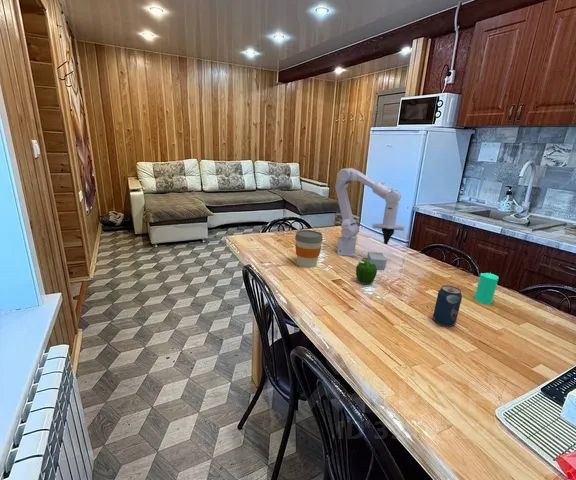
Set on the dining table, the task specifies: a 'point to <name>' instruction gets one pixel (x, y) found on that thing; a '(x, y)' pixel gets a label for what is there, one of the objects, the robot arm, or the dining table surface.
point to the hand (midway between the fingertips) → (385, 243)
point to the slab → (376, 259)
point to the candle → (486, 288)
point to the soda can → (447, 305)
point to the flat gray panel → (376, 267)
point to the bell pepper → (366, 272)
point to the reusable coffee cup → (308, 247)
